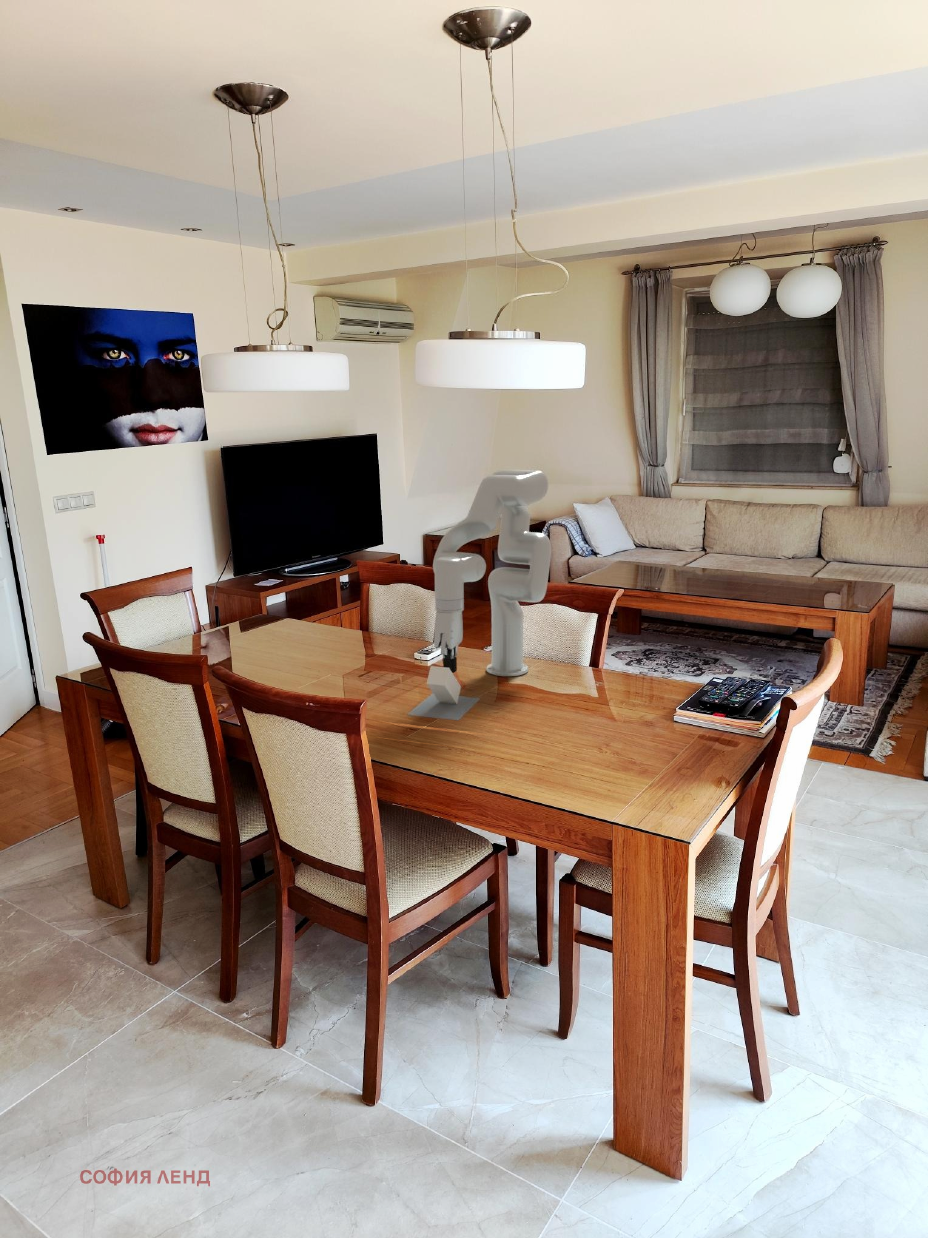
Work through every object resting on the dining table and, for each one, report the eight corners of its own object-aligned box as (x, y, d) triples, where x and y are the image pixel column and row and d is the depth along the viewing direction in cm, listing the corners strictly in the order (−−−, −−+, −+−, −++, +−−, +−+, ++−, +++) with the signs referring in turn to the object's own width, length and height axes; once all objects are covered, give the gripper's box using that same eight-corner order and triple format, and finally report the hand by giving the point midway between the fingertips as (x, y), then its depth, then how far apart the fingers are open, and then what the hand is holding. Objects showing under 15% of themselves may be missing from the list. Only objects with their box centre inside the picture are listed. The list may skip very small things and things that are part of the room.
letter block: (443, 684, 229) (431, 665, 219) (461, 686, 227) (449, 667, 217) (439, 702, 226) (426, 683, 216) (457, 704, 225) (444, 685, 215)
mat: (432, 695, 234) (432, 693, 234) (480, 700, 230) (480, 698, 229) (407, 716, 218) (407, 714, 217) (458, 722, 213) (458, 720, 213)
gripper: (446, 597, 229) (446, 663, 234) (425, 609, 216) (426, 678, 220) (472, 599, 227) (472, 665, 231) (453, 611, 213) (453, 681, 217)
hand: (450, 671), depth 226 cm, fingers closed
